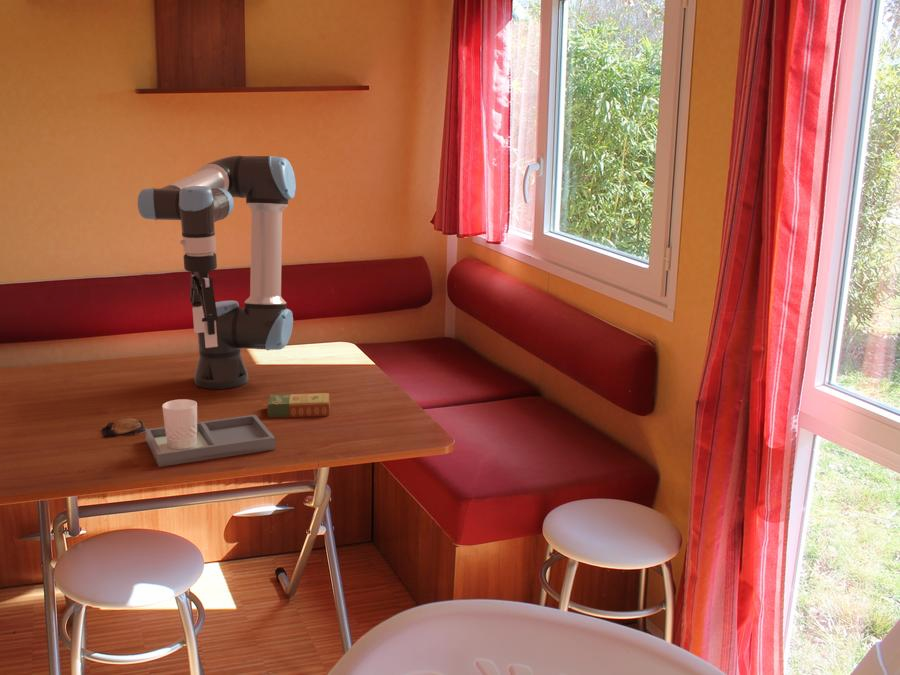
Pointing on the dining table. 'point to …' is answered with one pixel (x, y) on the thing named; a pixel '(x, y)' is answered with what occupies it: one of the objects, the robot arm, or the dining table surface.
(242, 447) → the gray divided tray
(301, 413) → the carton
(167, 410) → the white cup
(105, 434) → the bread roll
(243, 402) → the dining table surface
